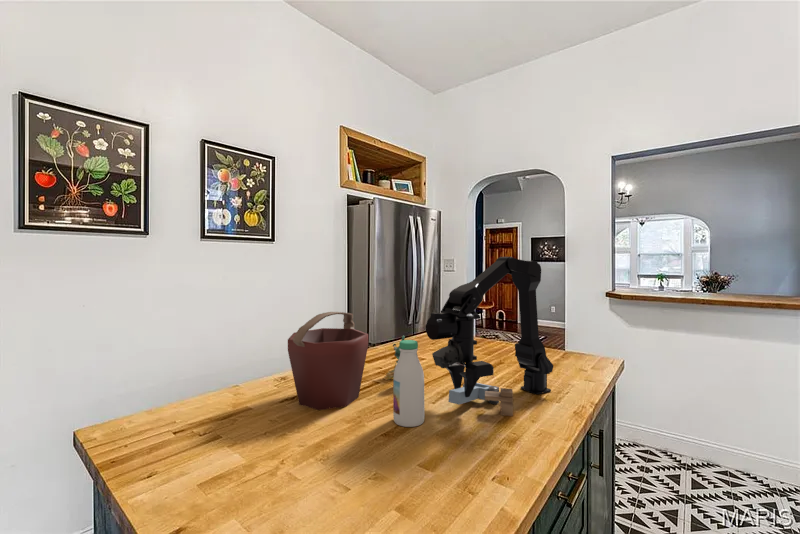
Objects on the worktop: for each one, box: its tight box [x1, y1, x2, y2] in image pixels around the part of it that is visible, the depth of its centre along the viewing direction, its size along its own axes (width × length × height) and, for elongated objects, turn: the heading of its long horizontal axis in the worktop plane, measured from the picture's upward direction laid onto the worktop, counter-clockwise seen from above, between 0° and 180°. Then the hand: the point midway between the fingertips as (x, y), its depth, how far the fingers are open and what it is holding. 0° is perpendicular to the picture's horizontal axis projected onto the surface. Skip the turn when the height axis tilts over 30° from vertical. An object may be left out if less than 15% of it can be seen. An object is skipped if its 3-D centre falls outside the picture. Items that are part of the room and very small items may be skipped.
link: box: [448, 382, 491, 406], centre depth 106 cm, size 19×7×3 cm, turn 144°
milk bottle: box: [392, 339, 425, 428], centre depth 95 cm, size 8×8×20 cm
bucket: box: [287, 311, 369, 411], centre depth 111 cm, size 24×22×25 cm
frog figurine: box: [382, 335, 405, 381], centre depth 134 cm, size 10×18×15 cm, turn 129°
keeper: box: [484, 387, 514, 417], centre depth 100 cm, size 4×7×6 cm, turn 77°
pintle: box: [488, 385, 500, 405], centre depth 108 cm, size 3×3×4 cm
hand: (462, 394), depth 103 cm, fingers closed on link, 4 cm apart
